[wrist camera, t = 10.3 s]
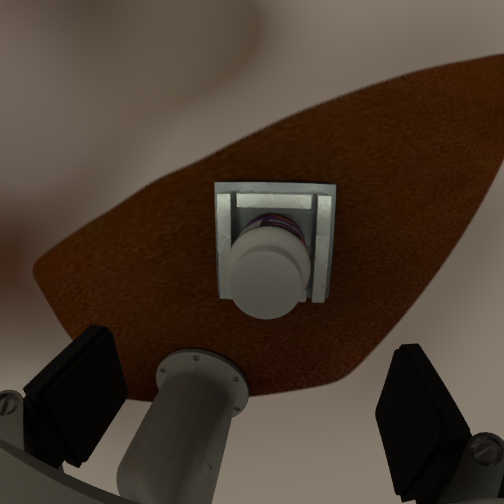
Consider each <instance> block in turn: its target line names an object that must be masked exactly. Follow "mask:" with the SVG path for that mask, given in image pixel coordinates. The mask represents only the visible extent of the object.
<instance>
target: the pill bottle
mask: <svg viewBox="0 0 504 504" xmlns="http://www.w3.org/2000/svg"><path fill="white" fill-rule="evenodd" d="M310 271H311V266H310V258H309V254H308V250H307V246H306V242H305V238H304V235H303V233H302V231H301V229H300V228H299V226H298V225H297V224H296V223H295V222H294V221H293V220H292V219H290V218H289V217H287V216H285V215H282V214H278V213H266V214H262V215H260V216H257V217H256V218H254V219H253V220H251V221H250V222H249V223H248V224H247V225H246V227H245V228H244V229H243V231H242V232H241V234H240V235H239V236H238V238H237V239H236V241H235V242H234V243H233V245H232V247H231V249H230V251H229V253H228V256H227V260H226V275H227V279H228V282H229V289H230V293H231V297H232V299H233V301H234V302H235V304H236V305H237V306H238V307H239V308H240V309H241V310H242V311H243V312H245V313H246V314H248V315H250V316H252V317H255V318H259V319H274V318H278V317H281V316H283V315H285V314H287V313H288V312H290V311H291V310H292V309H293V308H294V307H295V305H296V304H297V302H298V301H299V299H300V296H301V294H302V292H303V291H304V290H305V288H306V286H307V284H308V281H309V278H310Z"/></svg>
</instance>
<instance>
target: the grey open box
mask: <svg viewBox="0 0 504 504" xmlns="http://www.w3.org/2000/svg"><path fill="white" fill-rule="evenodd" d="M335 201H336V185H335V184H332V183H329V182H316V181H287V180H224V181H219V182H215V226H216V260H217V286H218V294H220V299H232V297H231V293H230V289H229V282H228V279H227V275H226V260H227V256H228V253H229V251H230V249H231V247H232V245H233V243H234V242H235V241H236V239H237V238H238V236H239V235H240V234H241V232H242V231H243V229H244V228H245V227H246V225H247V224H248V223H249V222H250V221H251V220H253V219H254V218H256V217H257V216H260V215H262V214H266V213H278V214H282V215H285V216H287V217H289V218H290V219H292V220H293V221H294V222H295V223H296V224H297V225H298V226H299V228H300V229H301V231H302V233H303V235H304V238H305V242H306V246H307V250H308V254H309V258H310V266H311V271H310V278H309V281H308V284H307V286H306V288H305V290H304V291H303V292H302V294H301V296H300V299H299V301H298V302H306V298H311V300H312V302H324V298H328V296H329V286H330V276H331V264H332V252H333V238H334V221H335Z"/></svg>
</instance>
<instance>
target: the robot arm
mask: <svg viewBox="0 0 504 504" xmlns="http://www.w3.org/2000/svg"><path fill="white" fill-rule="evenodd" d="M156 383H157V387H158V389H159V391H158V393H157V395H156V397H155V399H154V401H153V402H152V404H151V406H150V408H149V410H148V412H147V414H146V416H145V417H144V419H143V421H142V423H141V425H140V427H139V429H138V430H137V432H136V434H135V436H134V438H133V440H132V442H131V443H130V445H129V447H128V449H127V451H126V453H125V455H124V457H123V459H122V461H121V462H120V465H119V467H118V471H117V487H118V491H119V494H120V496H118V495H115V494H112V493H109V492H107V491H104V490H102V489H99V488H97V487H94V486H92V485H90V484H87V483H85V482H83V481H80V480H78V479H76V478H74V477H72V476H70V475H67V474H65V473H64V471H63V466H62V463H63V462H64V460H65V461H66V462H67V463H69V464H71V465H73V466H75V467H77V468H79V467H80V466H81V464H82V462H86V461H87V460H88V459H89V457H90V455H91V454H92V452H93V451H94V449H95V447H96V446H97V444H98V443H99V441H100V439H101V438H102V436H103V435H104V433H105V432H106V430H107V428H108V427H109V425H110V424H111V422H112V420H113V419H114V417H115V416H116V414H117V413H118V411H119V410H120V408H121V406H122V405H123V403H124V402H125V400H126V398H127V396H128V389H127V386H126V383H125V379H124V376H123V372H122V369H121V365H120V361H119V357H118V354H117V350H116V346H115V341H114V337H113V334H112V333H111V332H110V331H109V329H108V328H107V327H104V326H99V325H90V326H89V327H88V328H87V329H86V330H85V331H84V332H82V333H81V334H80V335H79V336H78V337H77V338H76V339H75V340H74V341H73V342H71V343H70V344H69V345H68V346H67V347H66V348H65V349H64V350H63V351H62V352H61V353H60V354H59V355H57V356H56V357H55V358H54V359H53V360H52V361H51V362H50V363H49V364H48V365H47V366H46V367H45V368H44V369H43V370H42V371H41V372H39V374H37V375H36V376H35V377H34V378H33V379H32V380H31V381H30V382H29V383H28V384H27V385H26V386H25V387H24V388H23V390H24V392H25V394H26V396H25V398H23V397H22V395H21V394H20V393H19V392H17V391H14V390H4V391H1V392H0V504H212V499H213V495H214V491H215V487H216V483H217V479H218V475H219V470H220V466H221V462H222V458H223V453H224V449H225V445H226V440H227V436H228V432H229V428H230V423H231V419H232V417H234V416H236V415H237V414H239V413H240V412H242V410H243V409H244V408H245V407H246V404H247V402H248V398H249V386H248V382H247V380H246V378H245V376H244V374H243V373H242V372H241V371H240V369H239V368H238V367H237V366H235V365H234V364H233V363H232V362H231V361H229V360H227V359H226V358H224V357H222V356H220V355H218V354H216V353H213V352H210V351H206V350H201V349H182V350H177V351H175V352H172V353H170V354H169V355H168V356H166V357H165V358H164V359H163V360H162V362H161V363H160V365H159V366H158V369H157V372H156ZM375 416H376V421H377V424H378V428H379V431H380V435H381V438H382V442H383V446H384V450H385V454H386V457H387V462H388V466H389V470H390V474H391V478H392V482H393V486H394V491H395V493H396V495H400V496H401V501H402V502H407V501H411V500H416V504H504V441H503V440H502V439H501V438H500V437H499V436H497V435H495V434H493V433H488V432H482V433H478V434H476V435H474V436H472V434H471V433H470V428H469V426H468V425H467V423H466V421H465V419H464V417H463V416H462V414H461V412H460V410H459V409H458V407H457V405H456V403H455V401H454V400H453V398H452V396H451V395H450V393H449V391H448V390H447V388H446V386H445V385H444V383H443V381H442V380H441V378H440V377H439V375H438V373H437V372H436V370H435V368H434V367H433V365H432V364H431V362H430V360H429V359H428V357H427V356H426V354H425V353H424V351H423V350H422V348H421V347H420V345H419V344H402V345H401V346H400V347H399V349H396V350H395V351H394V354H393V358H392V361H391V364H390V368H389V371H388V375H387V378H386V381H385V384H384V387H383V390H382V393H381V396H380V399H379V402H378V404H377V407H376V411H375Z"/></svg>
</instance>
